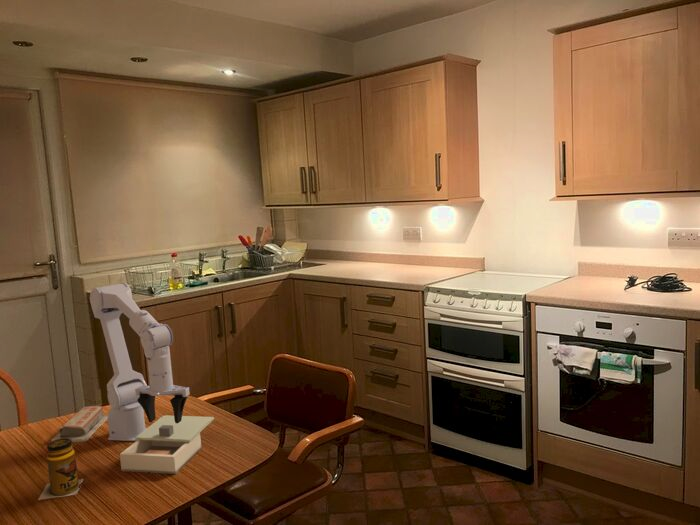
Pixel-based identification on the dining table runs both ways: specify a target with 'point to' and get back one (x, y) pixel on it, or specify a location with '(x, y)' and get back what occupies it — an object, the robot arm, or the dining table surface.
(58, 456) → the condiment
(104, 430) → the dining table surface
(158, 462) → the carton
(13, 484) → the dining table surface
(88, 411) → the packaged product
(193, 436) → the lid
